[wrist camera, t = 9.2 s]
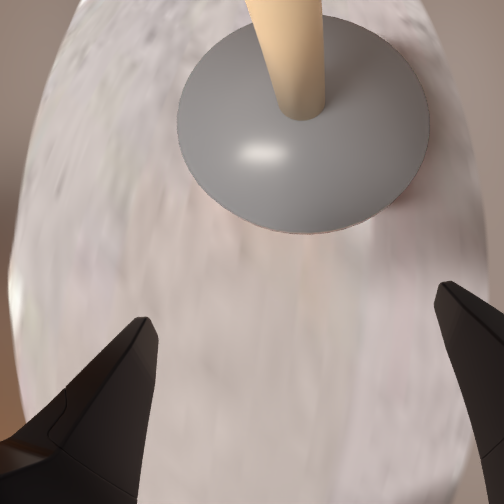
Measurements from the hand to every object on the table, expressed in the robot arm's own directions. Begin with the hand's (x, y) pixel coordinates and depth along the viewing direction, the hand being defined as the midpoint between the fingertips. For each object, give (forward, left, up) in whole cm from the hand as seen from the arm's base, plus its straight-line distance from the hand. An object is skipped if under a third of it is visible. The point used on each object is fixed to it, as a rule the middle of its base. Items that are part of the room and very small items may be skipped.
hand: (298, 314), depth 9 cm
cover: (+3, -9, -7) cm, 12 cm away
